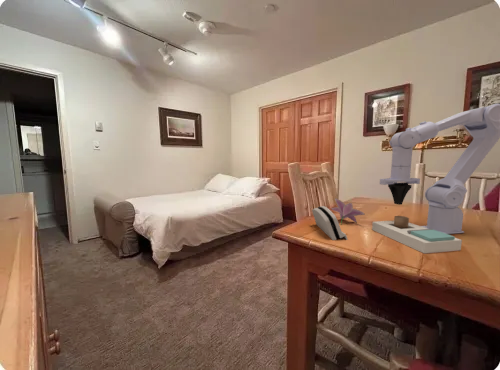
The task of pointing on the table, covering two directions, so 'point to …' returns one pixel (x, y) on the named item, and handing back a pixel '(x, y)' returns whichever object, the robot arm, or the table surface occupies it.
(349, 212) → the lily
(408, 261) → the table surface
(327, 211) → the grey curved piece
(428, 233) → the teal flap lid
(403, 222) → the peg
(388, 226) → the tray
